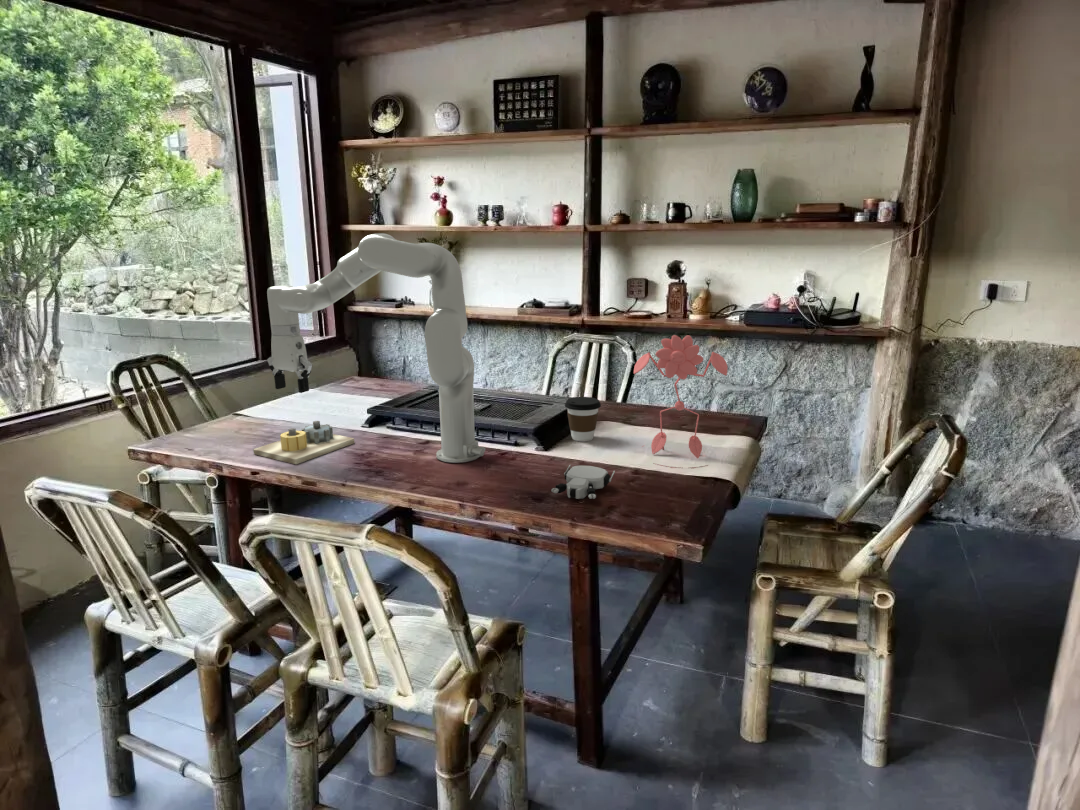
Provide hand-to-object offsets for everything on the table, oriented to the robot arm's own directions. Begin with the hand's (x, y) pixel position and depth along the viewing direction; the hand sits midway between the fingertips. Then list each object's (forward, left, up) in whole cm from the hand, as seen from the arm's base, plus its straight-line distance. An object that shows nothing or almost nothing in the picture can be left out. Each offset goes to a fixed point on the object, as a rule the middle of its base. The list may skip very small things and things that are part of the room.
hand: (292, 390), depth 199 cm
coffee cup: (-66, -52, -19) cm, 86 cm away
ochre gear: (+1, +1, -17) cm, 17 cm away
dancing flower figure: (-97, -48, -19) cm, 110 cm away
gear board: (+1, -3, -19) cm, 19 cm away
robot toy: (-86, -14, -19) cm, 90 cm away
